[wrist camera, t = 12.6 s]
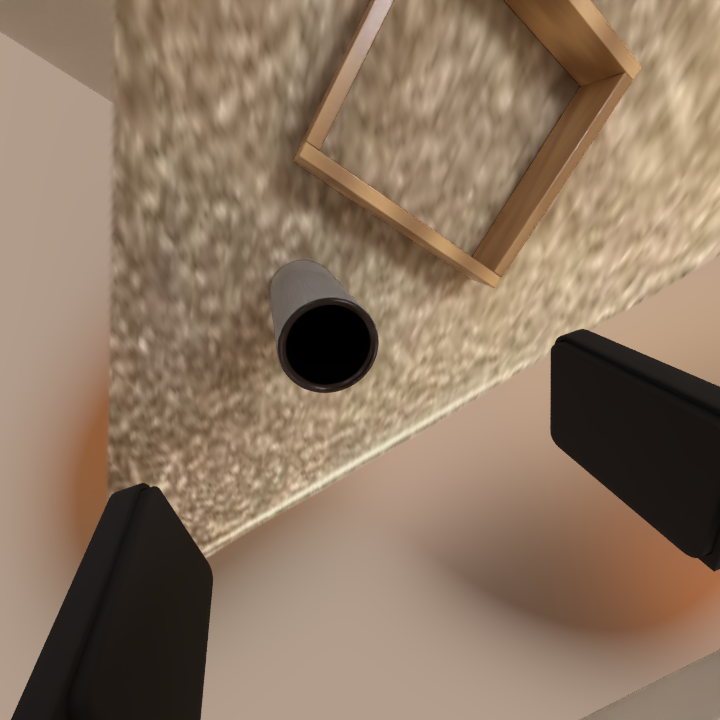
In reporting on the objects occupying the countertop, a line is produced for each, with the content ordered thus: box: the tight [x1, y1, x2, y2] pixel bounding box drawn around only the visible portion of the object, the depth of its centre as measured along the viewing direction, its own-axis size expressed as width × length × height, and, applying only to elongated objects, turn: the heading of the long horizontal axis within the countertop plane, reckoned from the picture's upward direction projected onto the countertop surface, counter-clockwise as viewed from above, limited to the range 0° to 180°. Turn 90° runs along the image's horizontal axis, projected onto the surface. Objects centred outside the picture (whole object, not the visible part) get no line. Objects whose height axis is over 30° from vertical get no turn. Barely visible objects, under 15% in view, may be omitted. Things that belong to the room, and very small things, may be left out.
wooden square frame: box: [293, 0, 642, 288], centre depth 22 cm, size 15×15×4 cm
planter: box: [270, 260, 378, 393], centre depth 21 cm, size 4×4×10 cm
